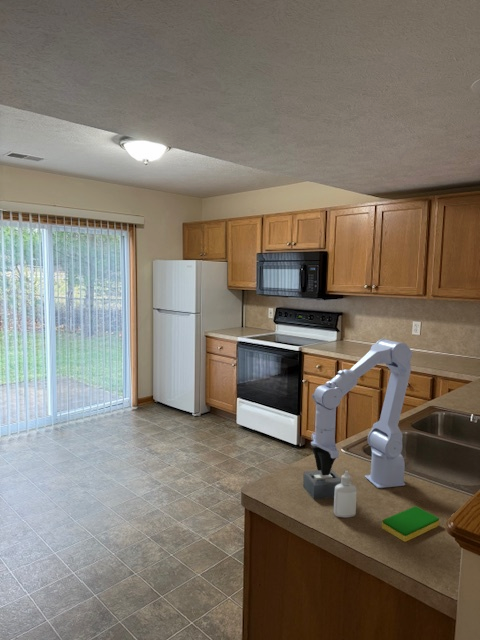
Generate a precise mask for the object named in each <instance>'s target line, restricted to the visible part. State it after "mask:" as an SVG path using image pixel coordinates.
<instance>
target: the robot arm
mask: <svg viewBox="0 0 480 640" xmlns="http://www.w3.org/2000/svg"><path fill="white" fill-rule="evenodd" d="M412 356H413V352H412V350H411V348H410V347H409V345H408V344H406V343H405V342H400V341H393V340H389V339H385V338H381V339H379V340H377V341H376V342H375V343H373V344H372V345H371V346H370V350H369V351H368V352H367V353H365V354H364V356H363V357H360V359H359V360H358V361H357V362H356V363H355V364H354V365H353V366H352V367H351V368H350V369H340V370H339V371H337V374H336V375H335V376H334V377H333V378H331V379H330V380H328V381H326V382H325V383H324V384H322V385H321V384H320V385H319V386H317V387H316V388H315V389H314V393H313V394H311V396H312V400H313V402H314V403H315V419H314V422H315V423H314V425H315V426H314V432H313V433H311V436H310V437H311V440H312V441H310V448H311V451H312V453H313V455H314V458H315V459H314V460H315V464H316V465H315V466H316V468H317V470H318V471H319V470H321V472H322V475H329V474H330V471H331V469H332V467H333V464H334V462H335V460H336V459H339V457H340V456H339V455H340V452H339V450H338V448H337V444H336V439H335V438H336V437H335V436H336V415H337V414H336V413H337V407H338V406H340V403H341V400H342V399H343V397H344V396H345V395H346V394H348V393H349V392H350V391H351V390H352V389H354V388H355V387H356V386H357V385H358V379H359V378H361V377H362V376H363V375H365V374H367V373H368V372H369V371H370V370H371V369H373V368H374V367H376V366H377V365H381V364H383V365H386V366H387V368H388V369H389V371H390V375H389V379H388V381H387V382H388V383H387V387H386V391H385V396H384V399H383V400H384V401H383V404H382V408H381V413H380V415H379V417H380V418H379V420H378V421H376V422H374V423H373V425H372V428H371V430H370V431H369V432H368V435H367V439H366V440H367V444H368V445H369V447H370V450H371V458H370V459H371V462H370V474H366V475H364V477H365V478H366V479H367V480H368V481H369V483H372V484H373V485H374V486H375V488H378V489H383V488H392V487H393V488H394V487H403V486H406V483H405V469H406V468H405V465H406V464H405V459H404V456H403V455H402V454H401V453H402V451H403V437H404V436H403V433H402V431H401V429H400V427H399V422H400V419H401V414H402V409H403V405H404V402H405V398H406V393H407V388H408V385H409V381H410V375H411V373H412V372H411V371H412V365H411V359H412Z"/></svg>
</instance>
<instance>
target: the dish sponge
mask: <svg viewBox="0 0 480 640" xmlns="http://www.w3.org/2000/svg"><path fill="white" fill-rule="evenodd" d="M439 524H440V518H439V517H438V516H435V515H434V514H432V513H430V512H429V511H426V510H424V509H422V508H420V507H418V506H416V505H415V506H412V507H411V508H408V509H406V510H403V511H401V512H398V513H396V514H393V515H391V516H388V517H386V518H384V519H382V522H381V529H382V530H385V531H386V532H387V533H389V534H391V535H393V536H394V537H396V538H398V539H399V540H401V541H403V542H407V541H410V540H413V539H414V538H416V537H418V536H420V535H423V534H424V533H427V532H429V531H431V530H433V529H435V528H438V527H439Z"/></svg>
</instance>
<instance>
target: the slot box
mask: <svg viewBox="0 0 480 640" xmlns="http://www.w3.org/2000/svg"><path fill="white" fill-rule="evenodd" d="M320 474H322V472H321V470H319V471H318V470H306V471H303V481H302V486H303V488H304V489H305V491H306V492H307V493H308V495H310V497H311V498H312V500H320V499H329V498H334V492H335V486H336V485H338V484H340V483H341V477H340V476H339V475H338V474H337V473H336V472H335V471H334V470H333V469H332V468H331V471H330V475H331V476H332V478H329V479H319V480H314V475H320Z"/></svg>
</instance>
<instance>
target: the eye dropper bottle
mask: <svg viewBox="0 0 480 640" xmlns="http://www.w3.org/2000/svg"><path fill="white" fill-rule="evenodd" d="M340 478H341V483H340V484H338V485H336V486H335V492H334V497H333V514H334V515H335V516H336V517H337V518H352V517H355V516H356V514H357V513H356V512H357V496H358V495H357V492H358V491H357V487H356V486H355V485H354V484H352V476H351V475H349V471H348V470H344V474H342V475H341V477H340Z"/></svg>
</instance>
